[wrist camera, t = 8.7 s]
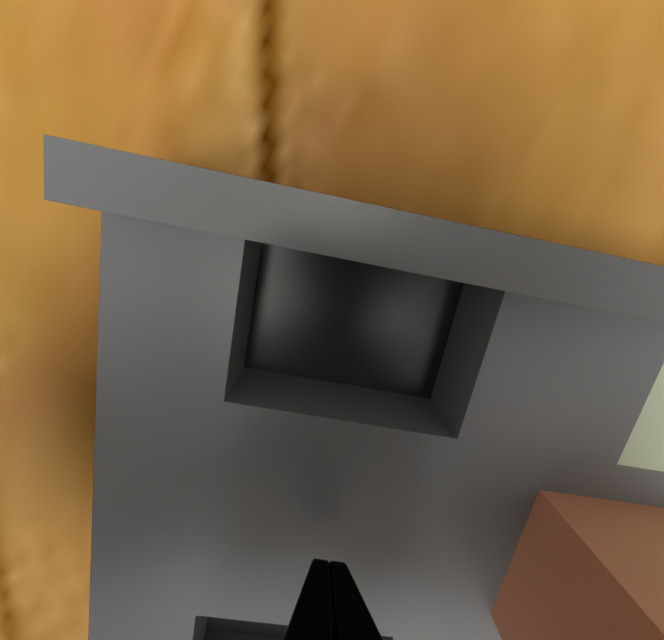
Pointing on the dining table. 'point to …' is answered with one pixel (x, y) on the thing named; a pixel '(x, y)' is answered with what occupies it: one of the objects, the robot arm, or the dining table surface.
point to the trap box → (341, 399)
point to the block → (585, 572)
